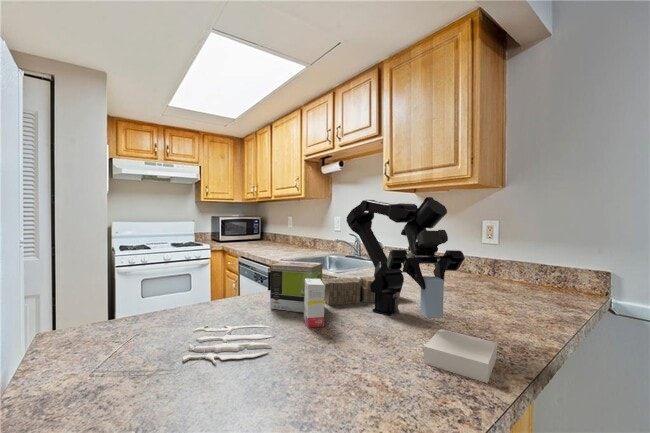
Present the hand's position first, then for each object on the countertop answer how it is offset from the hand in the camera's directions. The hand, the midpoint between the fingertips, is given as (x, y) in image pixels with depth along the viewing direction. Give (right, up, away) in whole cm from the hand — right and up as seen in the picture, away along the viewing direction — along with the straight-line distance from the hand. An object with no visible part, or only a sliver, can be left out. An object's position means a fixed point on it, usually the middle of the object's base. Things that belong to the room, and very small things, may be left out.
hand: (433, 288), depth 72 cm
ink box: (-29, -13, +14) cm, 35 cm away
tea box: (-36, -13, +28) cm, 47 cm away
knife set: (-56, -13, -1) cm, 57 cm away
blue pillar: (0, -7, +1) cm, 7 cm away
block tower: (-13, -14, +38) cm, 43 cm away
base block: (+3, -14, -8) cm, 16 cm away
